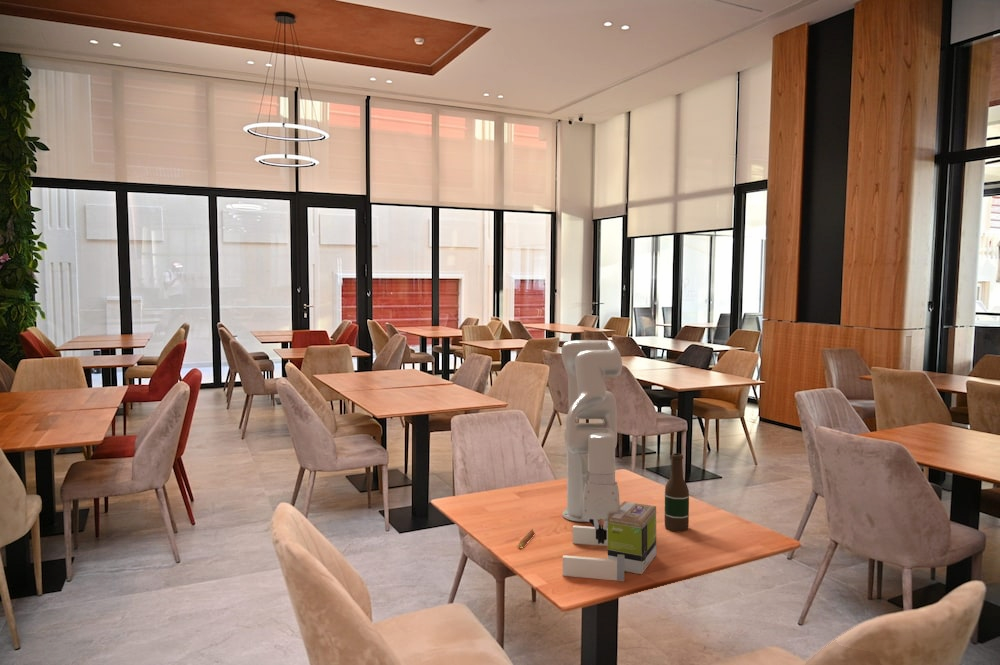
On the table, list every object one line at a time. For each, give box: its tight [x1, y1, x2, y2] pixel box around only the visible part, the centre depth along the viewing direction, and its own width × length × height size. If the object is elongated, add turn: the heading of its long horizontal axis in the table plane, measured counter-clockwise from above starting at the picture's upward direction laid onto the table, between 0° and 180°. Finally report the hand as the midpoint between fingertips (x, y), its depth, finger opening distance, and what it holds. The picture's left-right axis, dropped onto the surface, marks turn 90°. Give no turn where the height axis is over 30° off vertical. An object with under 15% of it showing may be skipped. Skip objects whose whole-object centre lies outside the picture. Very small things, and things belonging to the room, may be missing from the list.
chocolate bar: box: [516, 528, 536, 548], centre depth 204 cm, size 3×12×2 cm, turn 159°
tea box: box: [607, 501, 657, 575], centre depth 187 cm, size 15×10×15 cm
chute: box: [562, 525, 625, 582], centre depth 189 cm, size 25×16×6 cm, turn 167°
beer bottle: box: [664, 453, 690, 533], centre depth 214 cm, size 8×8×24 cm
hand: (601, 541), depth 188 cm, fingers closed
